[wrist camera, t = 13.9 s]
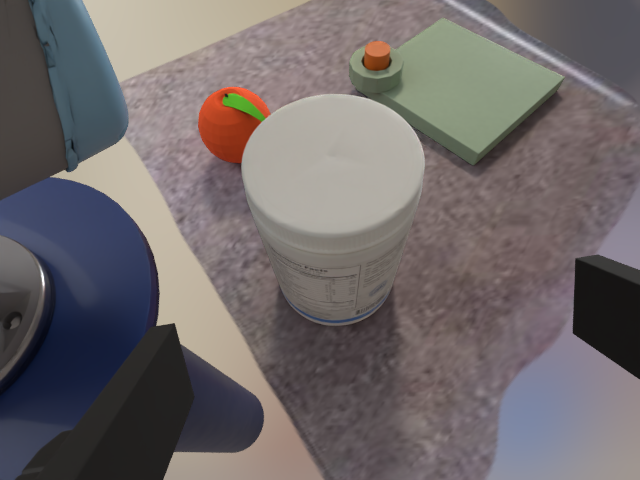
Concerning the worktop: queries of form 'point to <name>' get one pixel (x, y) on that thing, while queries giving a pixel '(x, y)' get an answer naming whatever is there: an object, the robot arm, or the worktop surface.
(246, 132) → the clementine
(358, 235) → the supplement tub
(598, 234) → the worktop surface
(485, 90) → the scale
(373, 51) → the tare button
